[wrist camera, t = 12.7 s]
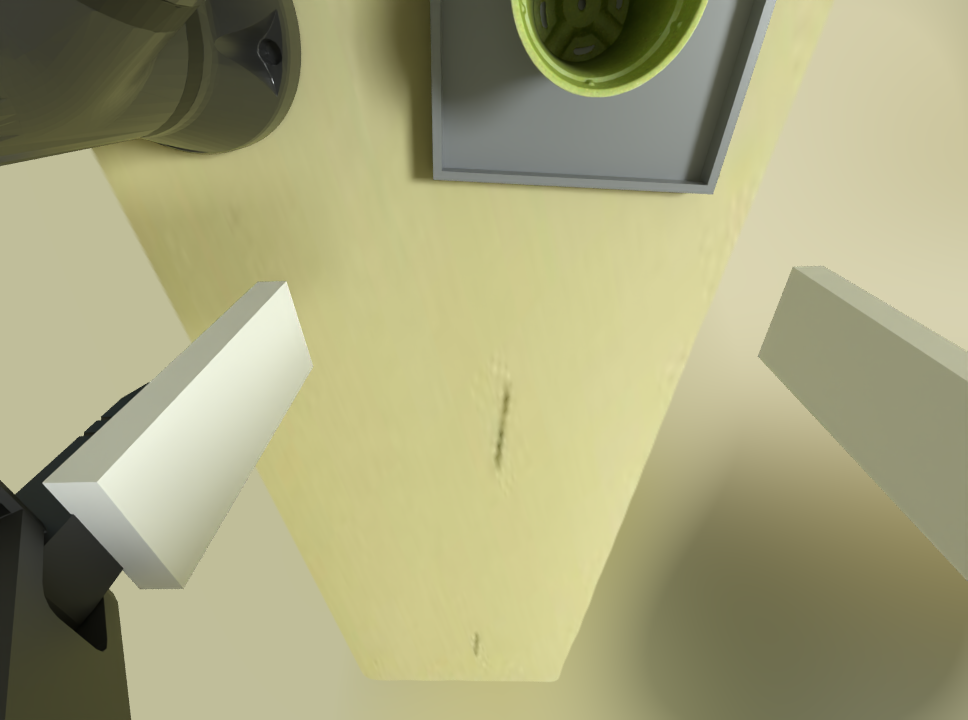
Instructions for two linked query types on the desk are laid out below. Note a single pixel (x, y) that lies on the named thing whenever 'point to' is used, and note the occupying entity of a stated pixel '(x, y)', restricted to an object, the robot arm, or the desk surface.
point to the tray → (586, 105)
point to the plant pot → (605, 40)
